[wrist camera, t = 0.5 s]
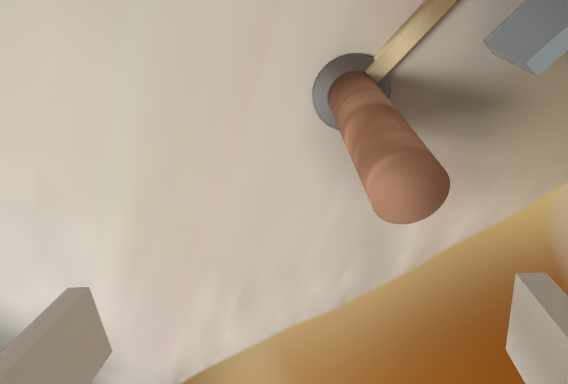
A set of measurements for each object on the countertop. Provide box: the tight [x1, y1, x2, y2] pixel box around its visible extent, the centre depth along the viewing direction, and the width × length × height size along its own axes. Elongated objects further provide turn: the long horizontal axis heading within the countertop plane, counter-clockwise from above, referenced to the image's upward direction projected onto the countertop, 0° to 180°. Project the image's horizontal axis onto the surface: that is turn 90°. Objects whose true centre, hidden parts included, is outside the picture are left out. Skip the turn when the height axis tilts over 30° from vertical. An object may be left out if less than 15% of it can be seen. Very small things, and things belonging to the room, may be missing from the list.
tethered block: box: [313, 0, 457, 224], centre depth 17 cm, size 20×6×12 cm, turn 140°
